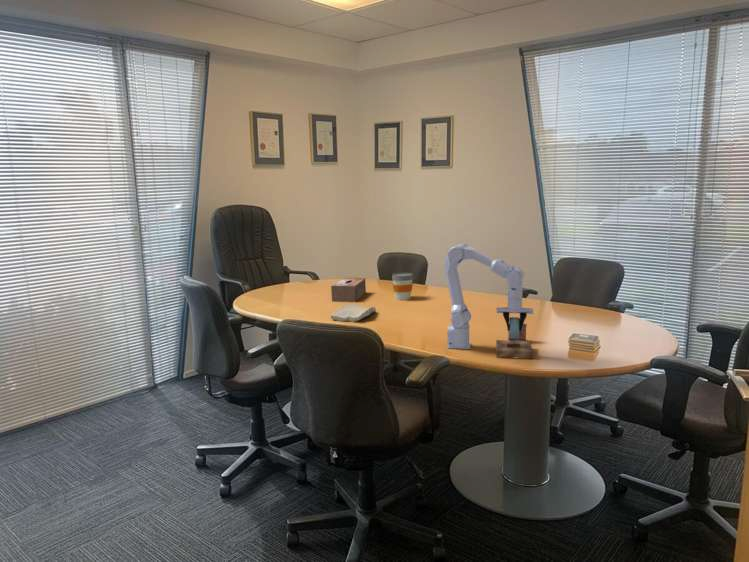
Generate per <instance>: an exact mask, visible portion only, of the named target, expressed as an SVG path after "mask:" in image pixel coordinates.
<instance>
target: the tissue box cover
mask: <svg viewBox="0 0 749 562" xmlns="http://www.w3.org/2000/svg"><path fill="white" fill-rule="evenodd" d="M330 286H331V288H330V289H331V292H330V293H331V302H334V303H336V302H337V303H356V302H357V301H359V299H360V298H362V297H363V296H364V295H365V294H366V293H367V291H366V290H367V289H366V288H367V286H366V278H364V277H342V278H341V279H340V280H338V281H336V282H335V283H333V284H331V285H330Z"/></svg>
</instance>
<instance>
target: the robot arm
mask: <svg viewBox="0 0 749 562" xmlns="http://www.w3.org/2000/svg"><path fill="white" fill-rule="evenodd" d="M464 260H465V261H466V260H474V261H476V262H478V263H480V264H482V265H485V266H487V267H489V269H490V271H491V272H492V273H494V274H496V275H498V276H500V277H501V278H503V279H506V281H507V306H506V307H505V306H504V307H495V308H496V311H495V313H496V314H502V316H503V318H504V321H505V324H506V327H507V332H508V331H509V322H510V314H519V318H520V326H519V331H521V329H522V325H523V324H524V323H525V320H526V319H527V316H528V315H527V314H529V315H534V308H530V307H523V289H524V287H523V279H524V278H525V273H524V270H522V268H521V267H518V266H517V267H515V265H510V264H509V263H507V262H505V260H504V259H503V258H501V259H498V258H497V259H492V258H490V257H489V256H487V255H486V254H484V253H483V252H480V251H479V250H477V249H475V248H474V247H473V246H470V245H468V244H466V243H459V244H457V245H455V246H451V248H450V249H448V251H447V252H446V258H445V261H444V263H443V269H444V274H445V277H446V282H447V288H448V292H449V296H450V302H451V310H450V314H451V317H450V323H451V325H447V340H446V342H447V349H461V350H462V349H463V350H466V349H467V350H469V349H471V342H470V324H469V322H470V321H471V318H472V314H471V312H470V311H469V309H468V306H467V305H466V303H465V300H464V295H463V290H462V285H461V281H460V277H459V272H458V267H459V265H460V264H461V263H462V261H464ZM523 322H524V323H523Z"/></svg>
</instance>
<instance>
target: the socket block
mask: <svg viewBox="0 0 749 562" xmlns="http://www.w3.org/2000/svg"><path fill="white" fill-rule="evenodd" d="M495 341H496V344H495V348H496V349H495V350H496V353H497V354H496V358H497V357H519V358H518V359H521V358H534V356H533V355H534V354H533V353H534V351H533V347H532V343H531V341H529V340H528V341H527V340H526V341H508V339H507V340H503V339H499V340H497V339H496V340H495Z"/></svg>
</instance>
